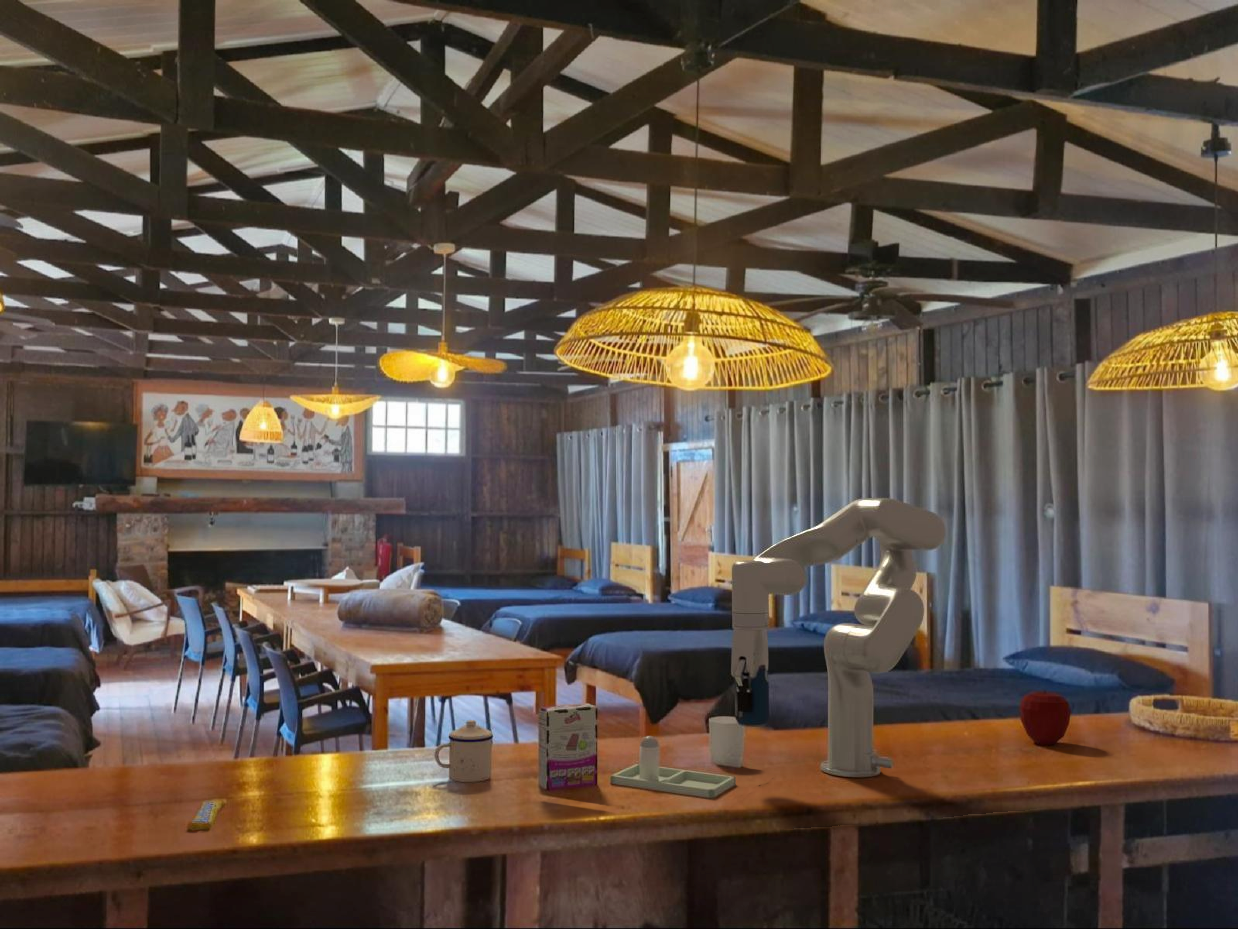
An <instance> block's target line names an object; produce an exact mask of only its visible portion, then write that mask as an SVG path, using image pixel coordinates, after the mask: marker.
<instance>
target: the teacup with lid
mask: <svg viewBox="0 0 1238 929" xmlns="http://www.w3.org/2000/svg"><path fill="white" fill-rule="evenodd" d="M493 738H494V736H493V733H492V731H491V730H489V729H486V728H483V727H482V726H480V725H477V721H476V720H474V719H469V720H467V721H466V722H465V725H462V726H460V727H458V728H457V729H455V730H454V729H453V730H452V731H450V732H449V734H448V740H449V742H448V743H441V744H439V745H438V746H437V747H436V748H435V750H434V759H435V762H436V764H437V765H438V766H439V767H441V768H442V769H448V778H449V779H450V780H451V781H454V782H459V783H479V782H485V781H487V780H489V779H491V777H492V753H493V752H492V750H493V749H492V748H493V746H492V744H493V743H492V742H493ZM445 748H449V751H448V752H449V753H448V754H449V757H448V758H449V764H447V763H443V762H442V761H441V760H440V756H439V753H440V751H441V750H443V749H445Z"/></svg>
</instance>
